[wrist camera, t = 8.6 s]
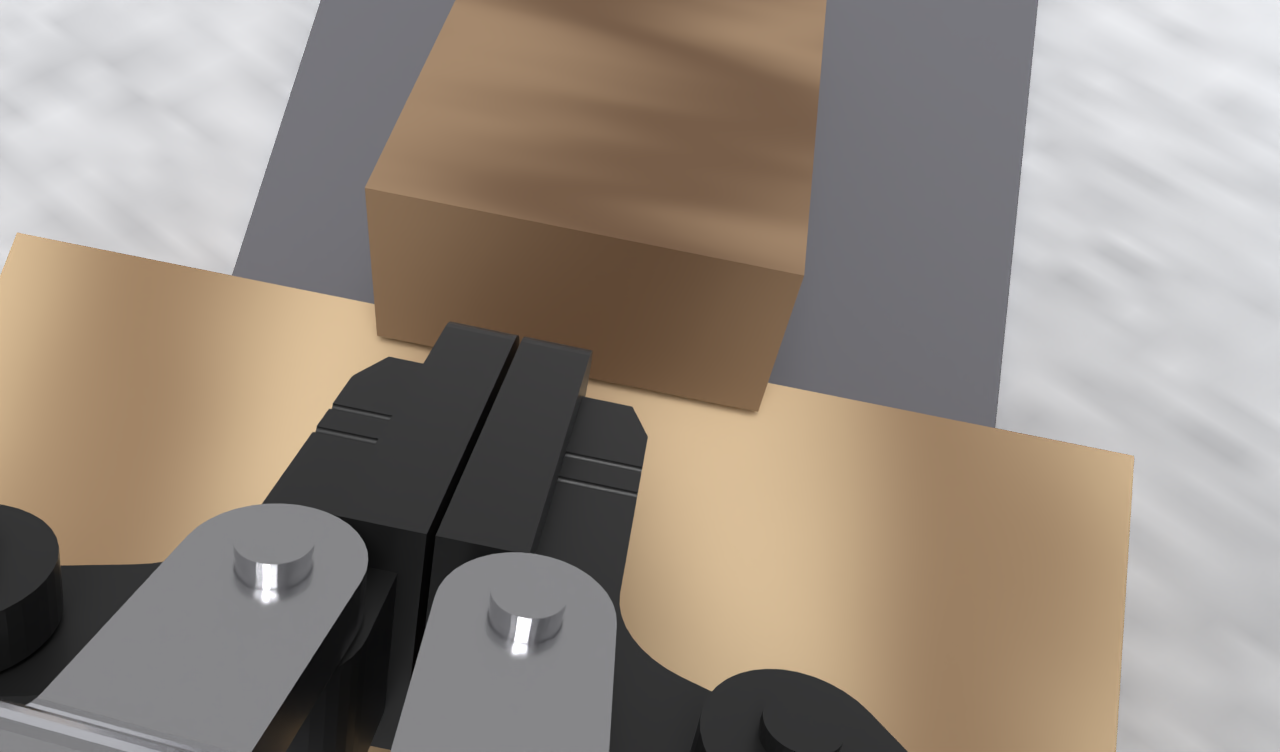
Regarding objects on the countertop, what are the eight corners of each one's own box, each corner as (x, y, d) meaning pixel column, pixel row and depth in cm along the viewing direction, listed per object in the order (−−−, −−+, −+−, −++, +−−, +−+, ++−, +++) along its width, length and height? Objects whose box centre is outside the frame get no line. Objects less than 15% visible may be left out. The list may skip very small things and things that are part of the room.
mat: (1038, -48, 25) (1043, -57, 25) (985, 465, 22) (991, 462, 21) (383, -179, 25) (381, -189, 25) (225, 314, 22) (221, 308, 21)
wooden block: (1034, 500, 21) (1134, 455, 18) (977, 1154, 18) (1083, 1272, 14) (116, 317, 22) (17, 233, 18) (-103, 937, 18) (-281, 998, 14)
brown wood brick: (757, 412, 17) (797, 48, 24) (804, 275, 15) (833, -86, 21) (377, 335, 17) (519, -7, 24) (364, 187, 15) (526, -147, 21)
